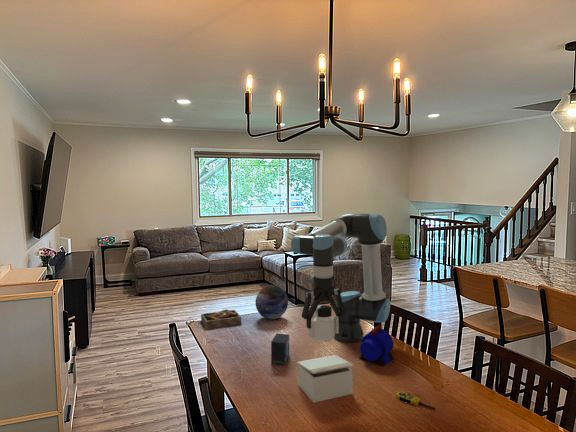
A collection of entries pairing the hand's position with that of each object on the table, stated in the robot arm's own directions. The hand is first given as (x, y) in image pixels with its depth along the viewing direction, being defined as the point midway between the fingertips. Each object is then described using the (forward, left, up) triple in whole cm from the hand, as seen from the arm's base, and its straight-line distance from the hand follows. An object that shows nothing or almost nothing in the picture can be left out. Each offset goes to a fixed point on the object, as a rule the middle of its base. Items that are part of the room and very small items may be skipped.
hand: (323, 334), depth 160 cm
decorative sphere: (-10, -89, -22) cm, 92 cm away
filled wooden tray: (+19, -95, -22) cm, 99 cm away
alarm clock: (-33, -16, -22) cm, 43 cm away
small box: (+6, -32, -22) cm, 39 cm away
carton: (0, 0, -22) cm, 22 cm away
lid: (0, 0, -12) cm, 12 cm away
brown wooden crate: (+19, -95, -22) cm, 99 cm away
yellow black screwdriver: (-26, +22, -22) cm, 40 cm away
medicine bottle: (0, 0, -1) cm, 1 cm away
